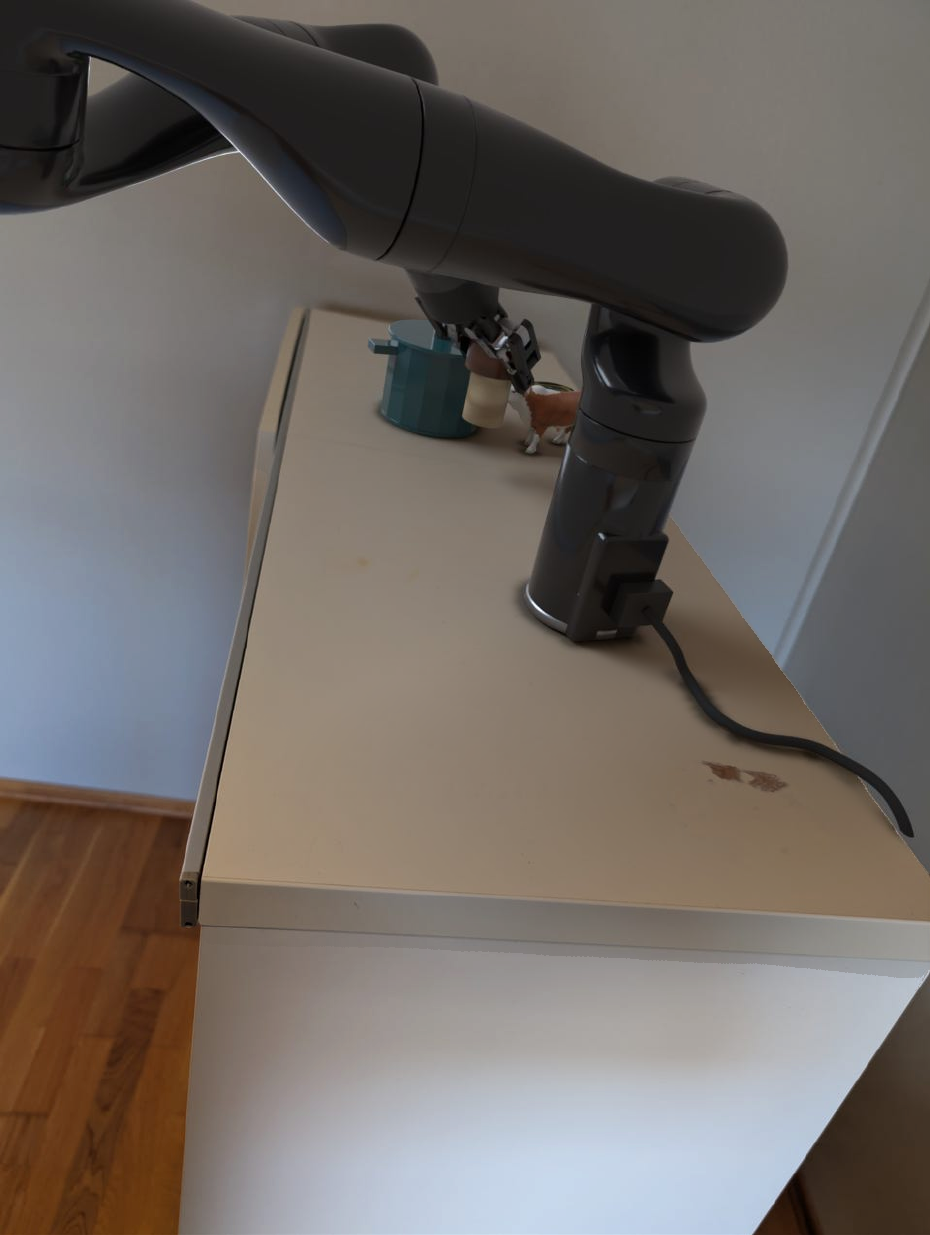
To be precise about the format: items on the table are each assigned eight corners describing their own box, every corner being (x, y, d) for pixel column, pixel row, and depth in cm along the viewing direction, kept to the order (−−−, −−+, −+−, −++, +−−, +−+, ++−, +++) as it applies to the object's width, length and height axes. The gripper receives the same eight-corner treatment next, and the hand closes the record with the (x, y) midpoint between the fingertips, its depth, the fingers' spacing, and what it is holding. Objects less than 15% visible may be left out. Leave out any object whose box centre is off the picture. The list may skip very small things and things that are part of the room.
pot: (510, 440, 105) (529, 363, 100) (376, 435, 97) (389, 352, 92) (473, 403, 113) (488, 331, 108) (347, 396, 106) (357, 319, 101)
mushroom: (518, 432, 91) (537, 353, 87) (467, 430, 88) (484, 348, 84) (495, 410, 95) (512, 334, 91) (446, 408, 93) (461, 330, 89)
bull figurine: (486, 439, 103) (500, 373, 99) (579, 440, 109) (596, 378, 105) (502, 455, 100) (518, 387, 96) (597, 455, 106) (616, 391, 102)
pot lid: (512, 368, 99) (523, 324, 96) (408, 361, 93) (416, 313, 91) (470, 333, 108) (478, 291, 105) (373, 324, 103) (379, 280, 100)
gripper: (366, 265, 80) (432, 379, 94) (478, 313, 72) (532, 429, 87) (416, 206, 80) (475, 327, 95) (532, 248, 73) (576, 373, 88)
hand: (502, 375), depth 91 cm, fingers closed on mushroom, 6 cm apart
